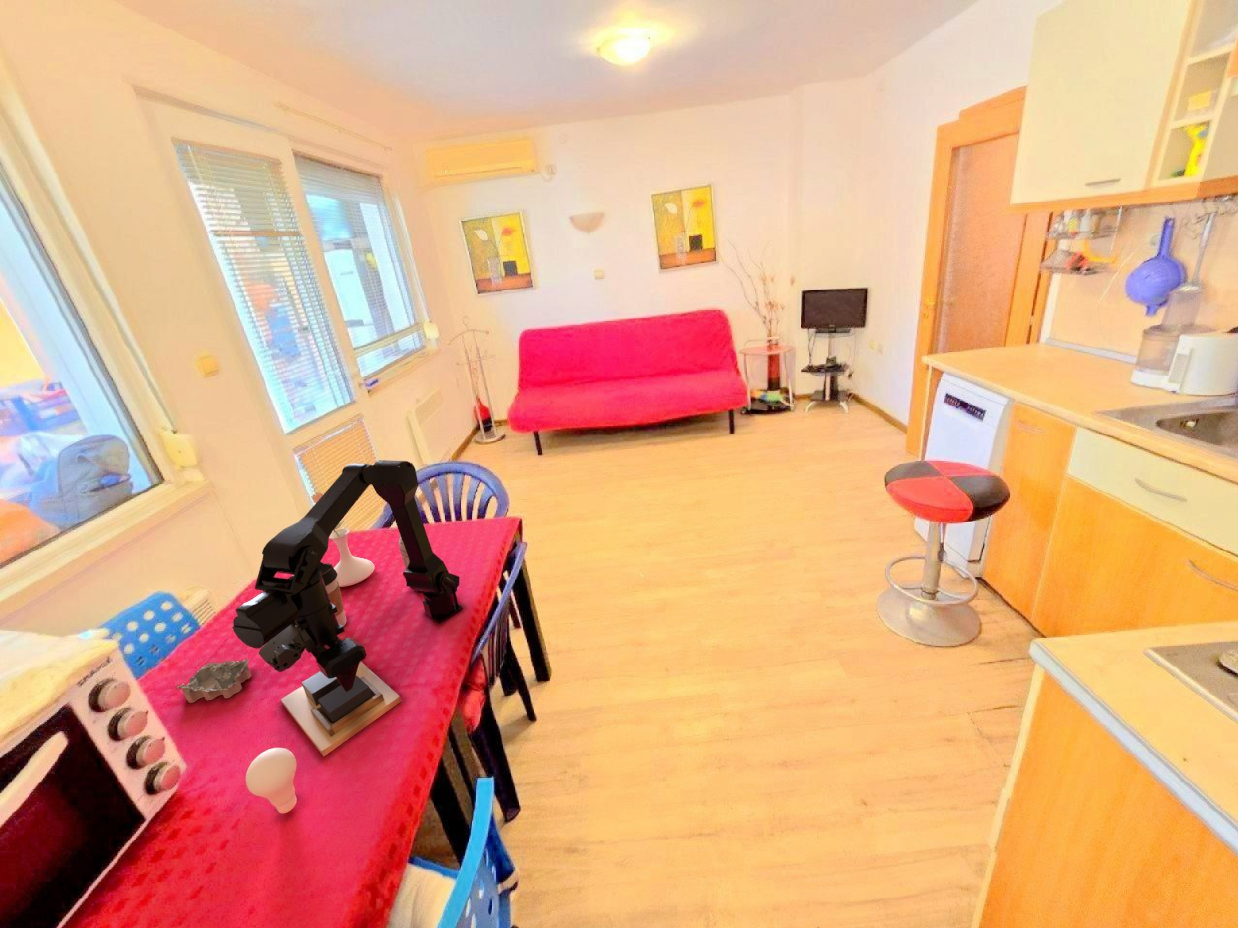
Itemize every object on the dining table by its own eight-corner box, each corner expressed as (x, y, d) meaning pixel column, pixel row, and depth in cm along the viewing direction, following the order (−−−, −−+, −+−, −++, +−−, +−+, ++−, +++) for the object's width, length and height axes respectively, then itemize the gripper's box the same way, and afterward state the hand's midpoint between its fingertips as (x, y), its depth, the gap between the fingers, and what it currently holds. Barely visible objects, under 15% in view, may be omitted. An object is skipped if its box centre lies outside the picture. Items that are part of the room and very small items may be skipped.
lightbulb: (277, 837, 72) (251, 784, 68) (257, 816, 76) (231, 764, 72) (319, 800, 77) (297, 748, 73) (299, 782, 80) (276, 731, 76)
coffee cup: (334, 639, 112) (314, 583, 107) (303, 636, 114) (281, 580, 109) (360, 615, 120) (342, 561, 114) (330, 612, 122) (311, 559, 116)
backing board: (355, 659, 106) (349, 643, 104) (401, 701, 94) (396, 683, 93) (282, 703, 96) (274, 687, 94) (323, 756, 84) (316, 738, 83)
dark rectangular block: (361, 689, 96) (356, 675, 95) (374, 701, 93) (369, 686, 92) (323, 714, 91) (317, 699, 90) (335, 727, 88) (329, 713, 87)
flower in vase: (385, 572, 137) (359, 488, 127) (344, 595, 128) (314, 507, 119) (357, 561, 143) (332, 481, 134) (317, 582, 135) (287, 498, 126)
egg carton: (179, 705, 98) (170, 688, 96) (207, 675, 105) (199, 660, 103) (234, 699, 98) (226, 683, 96) (258, 670, 105) (251, 654, 103)
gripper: (236, 612, 84) (268, 684, 90) (277, 657, 72) (310, 737, 78) (308, 579, 92) (333, 647, 97) (354, 615, 80) (379, 690, 86)
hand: (337, 678), depth 89 cm, fingers open, 9 cm apart
